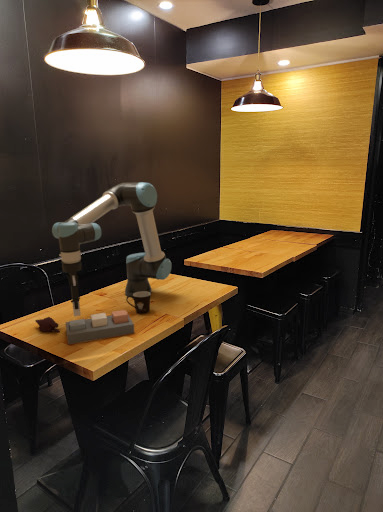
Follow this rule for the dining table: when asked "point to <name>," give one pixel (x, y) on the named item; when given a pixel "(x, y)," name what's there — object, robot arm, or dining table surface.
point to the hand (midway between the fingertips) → (77, 315)
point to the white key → (98, 320)
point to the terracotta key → (119, 316)
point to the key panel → (99, 330)
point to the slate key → (77, 324)
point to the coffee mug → (141, 302)
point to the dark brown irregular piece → (47, 325)
